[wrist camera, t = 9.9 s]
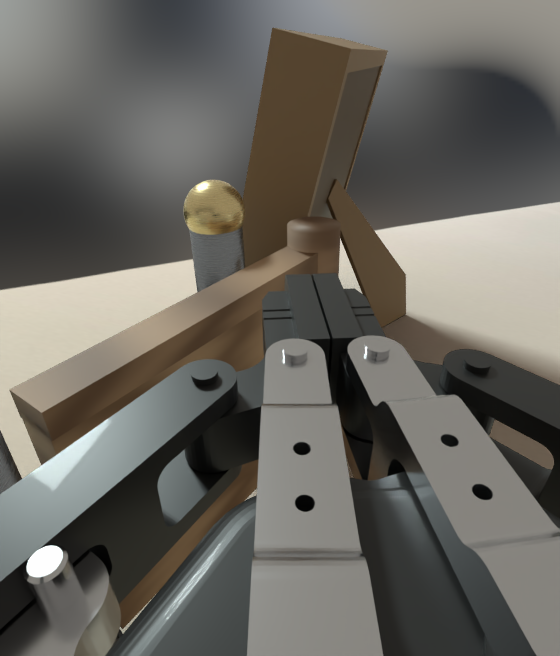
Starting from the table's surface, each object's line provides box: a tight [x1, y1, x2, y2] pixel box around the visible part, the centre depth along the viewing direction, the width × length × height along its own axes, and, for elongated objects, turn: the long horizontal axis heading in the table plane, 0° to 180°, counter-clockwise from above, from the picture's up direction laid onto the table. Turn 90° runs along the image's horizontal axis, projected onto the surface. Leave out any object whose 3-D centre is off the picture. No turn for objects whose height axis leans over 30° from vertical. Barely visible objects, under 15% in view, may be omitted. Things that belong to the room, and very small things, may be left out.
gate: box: [10, 216, 341, 629], centre depth 24 cm, size 18×3×14 cm, turn 144°
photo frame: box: [243, 28, 406, 328], centre depth 39 cm, size 15×22×25 cm
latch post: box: [184, 180, 245, 292], centre depth 29 cm, size 5×5×18 cm
